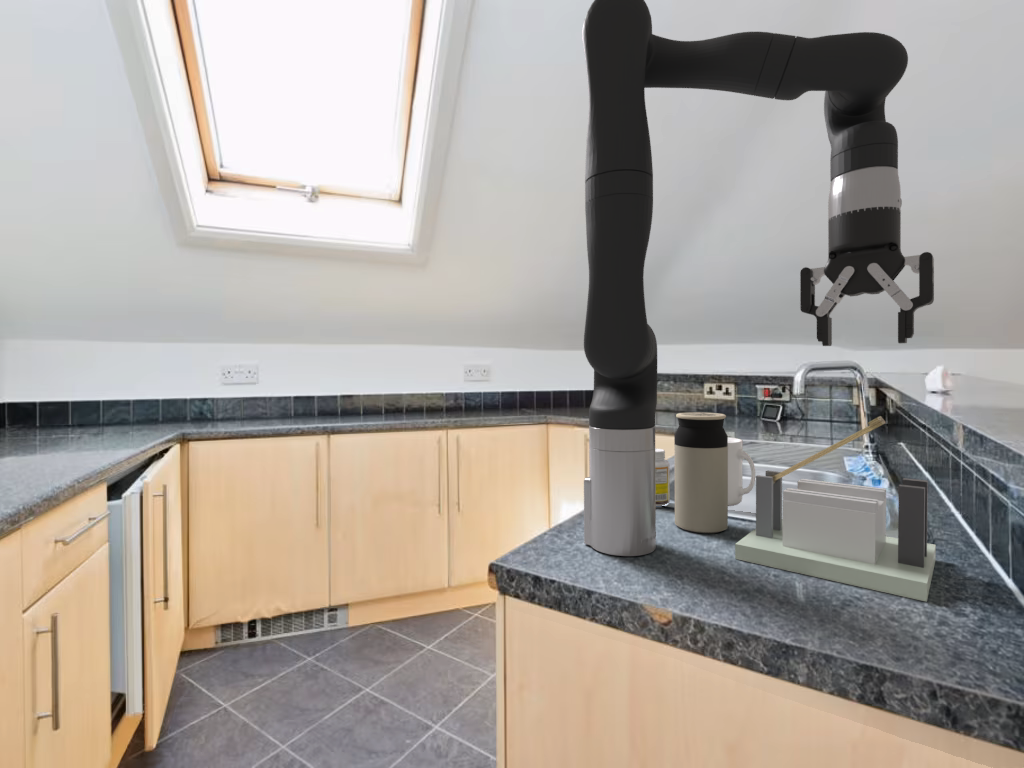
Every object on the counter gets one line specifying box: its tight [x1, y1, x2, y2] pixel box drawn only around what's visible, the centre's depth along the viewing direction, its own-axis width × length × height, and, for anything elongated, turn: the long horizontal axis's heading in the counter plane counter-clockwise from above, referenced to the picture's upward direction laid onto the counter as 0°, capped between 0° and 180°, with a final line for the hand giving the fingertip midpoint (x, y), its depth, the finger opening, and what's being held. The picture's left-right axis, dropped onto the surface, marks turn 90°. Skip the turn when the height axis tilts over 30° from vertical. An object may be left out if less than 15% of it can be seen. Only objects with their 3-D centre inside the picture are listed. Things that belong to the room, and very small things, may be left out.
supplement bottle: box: [655, 448, 671, 506], centre depth 98 cm, size 6×6×10 cm
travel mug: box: [673, 411, 729, 534], centre depth 84 cm, size 8×8×18 cm
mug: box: [728, 436, 756, 507], centre depth 99 cm, size 10×12×12 cm
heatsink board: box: [734, 470, 937, 602], centre depth 69 cm, size 20×16×11 cm
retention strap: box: [769, 415, 887, 484], centre depth 70 cm, size 17×3×1 cm
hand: (863, 344), depth 66 cm, fingers open, 7 cm apart
